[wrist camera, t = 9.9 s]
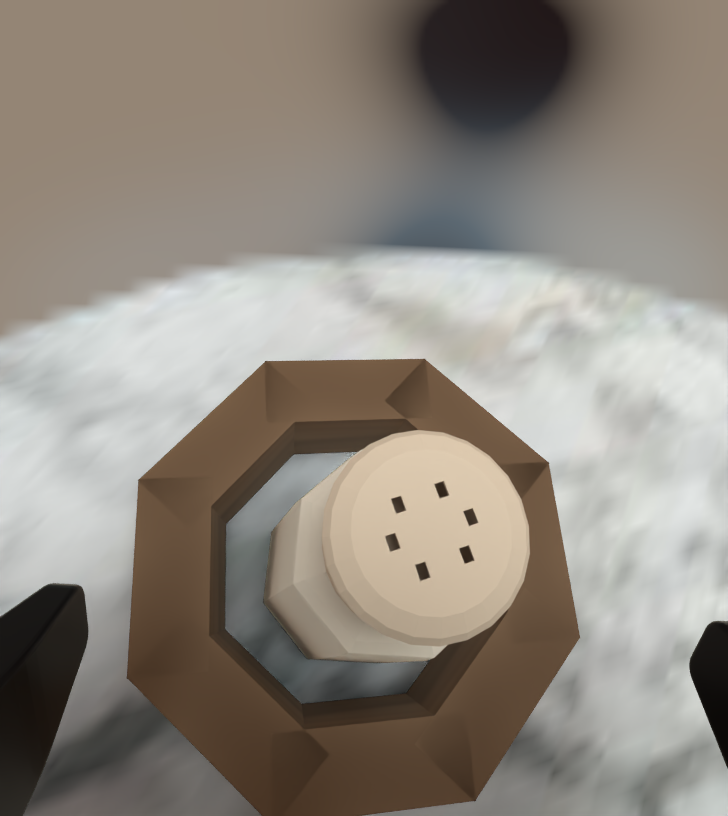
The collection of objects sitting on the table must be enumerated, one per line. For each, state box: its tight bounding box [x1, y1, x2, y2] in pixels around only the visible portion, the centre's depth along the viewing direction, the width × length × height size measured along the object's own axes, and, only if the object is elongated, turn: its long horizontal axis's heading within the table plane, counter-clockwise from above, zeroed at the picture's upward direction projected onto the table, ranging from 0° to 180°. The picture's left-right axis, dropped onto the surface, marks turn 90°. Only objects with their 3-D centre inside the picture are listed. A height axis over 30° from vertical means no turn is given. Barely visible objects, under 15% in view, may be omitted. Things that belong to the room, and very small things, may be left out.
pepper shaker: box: [263, 430, 530, 663], centre depth 12 cm, size 5×5×11 cm
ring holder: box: [127, 359, 580, 816], centre depth 16 cm, size 11×11×4 cm
